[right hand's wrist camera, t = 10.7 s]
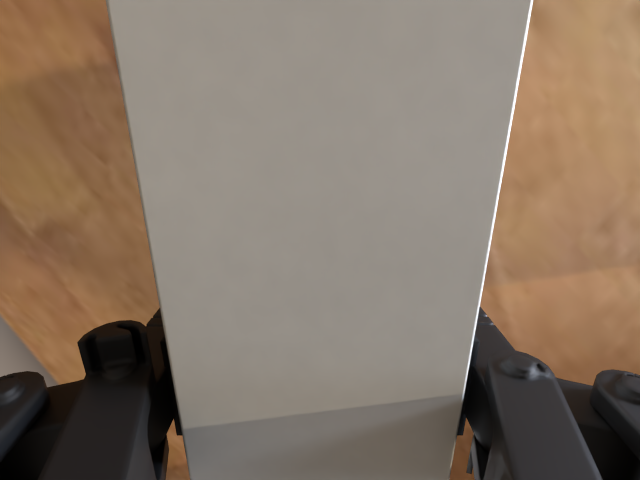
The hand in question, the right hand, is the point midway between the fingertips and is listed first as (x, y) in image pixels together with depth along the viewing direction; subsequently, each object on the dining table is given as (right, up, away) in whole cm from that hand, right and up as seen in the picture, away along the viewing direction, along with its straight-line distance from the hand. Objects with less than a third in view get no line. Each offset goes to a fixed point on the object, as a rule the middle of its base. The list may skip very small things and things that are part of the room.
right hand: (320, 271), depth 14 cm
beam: (0, +32, -11) cm, 34 cm away
